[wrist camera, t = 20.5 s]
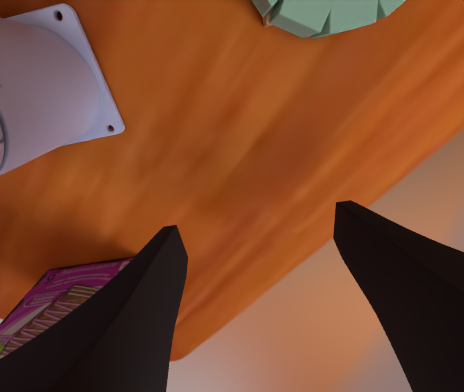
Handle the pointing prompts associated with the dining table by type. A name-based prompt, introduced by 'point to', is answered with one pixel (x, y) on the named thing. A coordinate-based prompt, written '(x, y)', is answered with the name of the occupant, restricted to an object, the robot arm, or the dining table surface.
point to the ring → (324, 14)
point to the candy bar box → (54, 301)
